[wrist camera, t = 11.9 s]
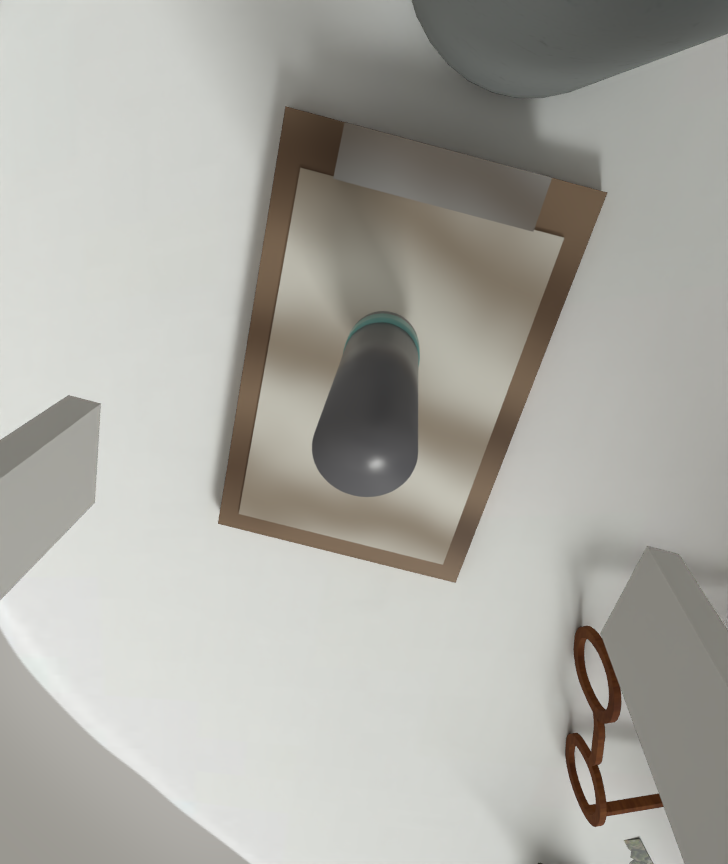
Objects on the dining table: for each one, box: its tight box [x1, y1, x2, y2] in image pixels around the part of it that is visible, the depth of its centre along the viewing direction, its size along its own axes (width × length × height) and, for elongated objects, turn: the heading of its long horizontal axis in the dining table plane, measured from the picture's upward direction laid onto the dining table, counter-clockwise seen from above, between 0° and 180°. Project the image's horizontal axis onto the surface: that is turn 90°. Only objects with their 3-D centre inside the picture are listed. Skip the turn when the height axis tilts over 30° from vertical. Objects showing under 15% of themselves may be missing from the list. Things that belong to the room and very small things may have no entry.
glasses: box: [565, 626, 664, 827], centre depth 34 cm, size 13×13×5 cm
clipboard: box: [218, 106, 607, 583], centre depth 28 cm, size 20×13×2 cm, turn 166°
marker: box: [312, 311, 420, 497], centre depth 22 cm, size 3×3×11 cm
